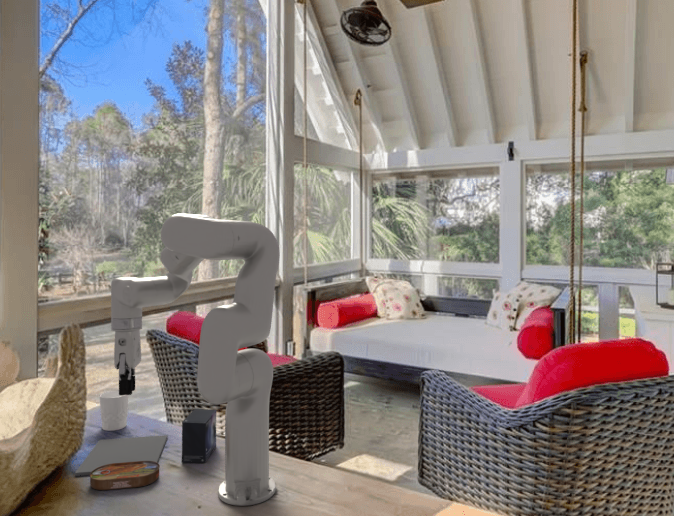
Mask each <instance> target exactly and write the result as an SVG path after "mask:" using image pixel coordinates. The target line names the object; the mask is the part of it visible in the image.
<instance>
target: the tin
mask: <svg viewBox="0 0 674 516" xmlns="http://www.w3.org/2000/svg"><path fill="white" fill-rule="evenodd" d="M160 466H161V465H160V464H159V462H158V463H157V462H154V461H137V462H124V463H112V464H107V465H103V466H100V467H98V468H96V469H94V470H93V471H92V472H91V473H90V475H89V479H90V481H89V483H90V487H91V488H92V489H93V490H97V491H111V490H123V489H131V488H132V489H133V488H141V487H145V486H148V485H151V484H153V483H154V482H156V481H157V480H158V478H159V476H160Z"/></svg>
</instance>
